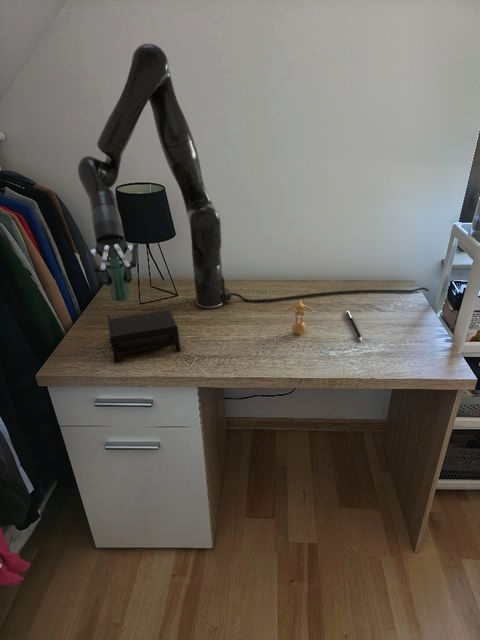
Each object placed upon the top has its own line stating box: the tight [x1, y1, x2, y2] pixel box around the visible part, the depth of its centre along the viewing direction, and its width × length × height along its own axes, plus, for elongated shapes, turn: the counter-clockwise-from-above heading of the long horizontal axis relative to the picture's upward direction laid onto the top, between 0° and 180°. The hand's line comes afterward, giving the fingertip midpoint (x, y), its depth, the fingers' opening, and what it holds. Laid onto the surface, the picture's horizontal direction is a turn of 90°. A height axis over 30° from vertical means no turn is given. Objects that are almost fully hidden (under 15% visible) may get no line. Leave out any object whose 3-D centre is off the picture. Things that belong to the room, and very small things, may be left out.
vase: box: [106, 256, 131, 302], centre depth 129 cm, size 5×5×12 cm
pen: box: [346, 310, 363, 342], centre depth 146 cm, size 1×19×1 cm, turn 4°
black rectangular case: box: [106, 309, 181, 363], centre depth 137 cm, size 18×13×8 cm
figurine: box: [284, 299, 315, 335], centre depth 140 cm, size 8×6×12 cm
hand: (118, 283), depth 128 cm, fingers closed on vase, 5 cm apart
